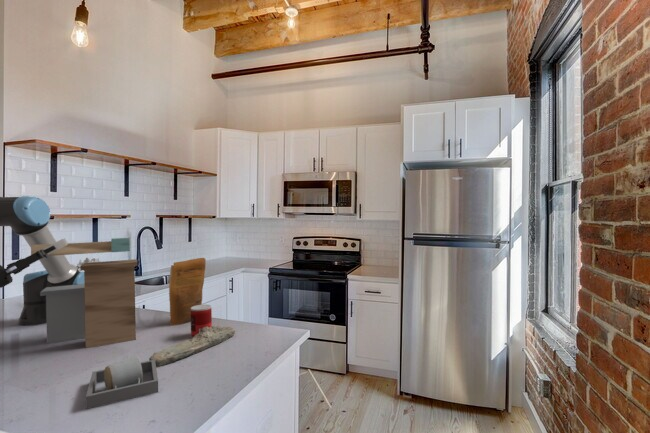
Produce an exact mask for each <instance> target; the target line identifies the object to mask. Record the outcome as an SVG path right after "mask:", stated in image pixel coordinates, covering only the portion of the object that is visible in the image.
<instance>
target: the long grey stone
mask: <svg viewBox="0 0 650 433" xmlns="http://www.w3.org/2000/svg"><path fill="white" fill-rule="evenodd" d="M235 332H236V329H235V327H233V326H219V325H217V326H215V325H212V327H209V328H208V327H207V326H206V327H204V328H202V331H201V332H200V333H199V334H196V335H195V336H194V337H192V338H189V339H188V340H185V341H181V342H180V343H177V344H175V345H173V346H172V345H171V346H169V347H167V348H164V349H162V350H160V351H157V352H154V353H153V354H152V355H151V356H149V358H148V359H149V360H148V361H150V360H155V364H156V368H160V367H163V366H165V365H168V364H171V363H173V362H176V361H178V360H182V359H185V358H188V357H190V356H193V355H195V354H197V353H200V352H203V351H205V350H206V349H208V348H209V347H210V348H211V347H213V346H216V345H219V344H220V343H222V342H224V341H226V340H229V338H231V337H233V335H234V334H235Z"/></svg>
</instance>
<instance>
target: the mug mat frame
mask: <svg viewBox="0 0 650 433" xmlns="http://www.w3.org/2000/svg"><path fill="white" fill-rule="evenodd" d="M140 362H141V366H142V373H143V374H144V373H149V372H150V373H151V377H152V380H148V381H144V382H143V381H142V383H138V384H134V385H129V386H125V387H120V388H116V389H111V390H107V389H106V390H103V391H99V392H96V387H97V384H98V383H102V382H105V381H104V369H99V370H95V371H92V373H91V377H90V380H89V384H88V387H87V390H86V395H85V409H86V410H88V409H92V408H96V407H100V406H104V405H108V404H113V403H117V402H120V401H121V402H122V401H126V400H129V399H133V398H138V397H143V396H147V395H151V394H155V393H158V392H159V378H158V372H157V367H156V364H155V360H150V361H149V360H145V361H140Z"/></svg>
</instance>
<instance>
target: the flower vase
mask: <svg viewBox="0 0 650 433" xmlns="http://www.w3.org/2000/svg"><path fill="white" fill-rule="evenodd" d="M90 262H101V261H100V258H99V257H98V258H92V259H90V258H89V257H86V258H85V259H84V260H83V261H82V259H79V262H78V263H77V264H76V265H75V266H76V267H77V269H78V270H79V272H84V270H81V269H80V266H81V265H82V264H84V263H90Z"/></svg>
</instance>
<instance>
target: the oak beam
mask: <svg viewBox="0 0 650 433" xmlns="http://www.w3.org/2000/svg"><path fill="white" fill-rule="evenodd" d="M130 244H131V243H130V237H118V238H117V237H116V238H115V237H113V238H111V239H110V241H109V240H108V241H90V242H89V241H88V242H68V243H67V246H65V247H63V248H61V249H59V250H57V251H55V252H53V253H51V254H49V255H48V256H55V255H65V256H69V255H85V254H86V255H87V254H100V253H101V254H102V253H121V252H123V253H124V252H130V251H131V248H130V247H131V245H130ZM50 245H51V244H44V245H31V247H30V255H32V254H34V253H36V252H37V251H40V250H42V249H43V250H44V248H46V247H48V246H50Z"/></svg>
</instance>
